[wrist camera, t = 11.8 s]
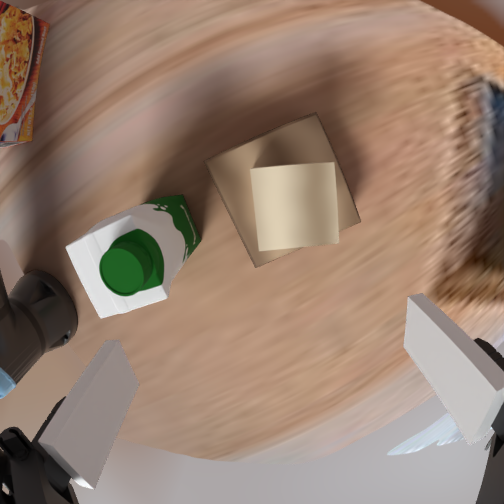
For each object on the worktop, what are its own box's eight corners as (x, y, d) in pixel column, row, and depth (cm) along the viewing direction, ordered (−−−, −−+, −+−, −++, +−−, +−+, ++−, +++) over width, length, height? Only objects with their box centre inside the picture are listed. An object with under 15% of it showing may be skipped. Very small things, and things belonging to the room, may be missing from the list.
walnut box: (255, 253, 41) (255, 271, 35) (211, 161, 38) (201, 161, 31) (347, 213, 39) (364, 223, 33) (307, 119, 36) (317, 110, 29)
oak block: (259, 225, 33) (258, 251, 24) (252, 167, 31) (249, 168, 22) (316, 220, 33) (338, 243, 23) (311, 162, 31) (334, 162, 21)
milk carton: (209, 244, 41) (170, 314, 22) (154, 264, 42) (88, 337, 23) (186, 185, 38) (121, 208, 19) (130, 209, 40) (43, 249, 20)
